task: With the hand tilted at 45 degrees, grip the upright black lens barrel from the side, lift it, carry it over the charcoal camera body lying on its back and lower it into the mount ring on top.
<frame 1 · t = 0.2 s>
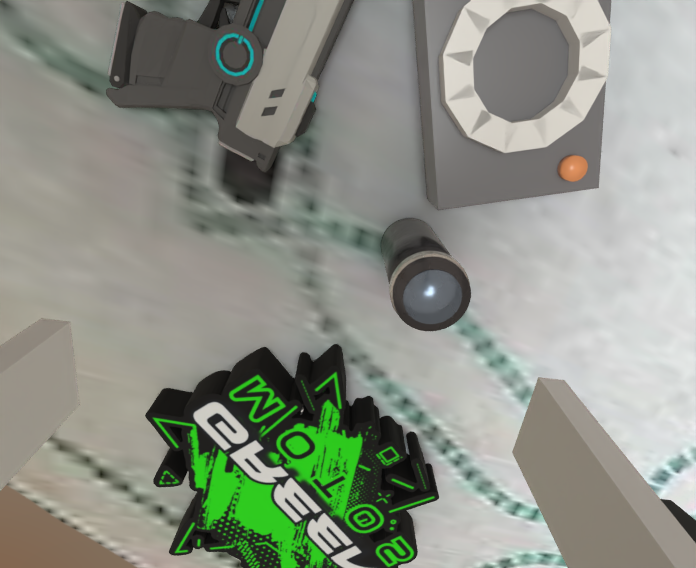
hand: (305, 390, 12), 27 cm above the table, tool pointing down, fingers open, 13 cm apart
camera body: (494, 74, 34), on the table
sign: (287, 470, 50), on the table
handgun: (253, 9, 33), on the table
lens: (408, 245, 39), on the table
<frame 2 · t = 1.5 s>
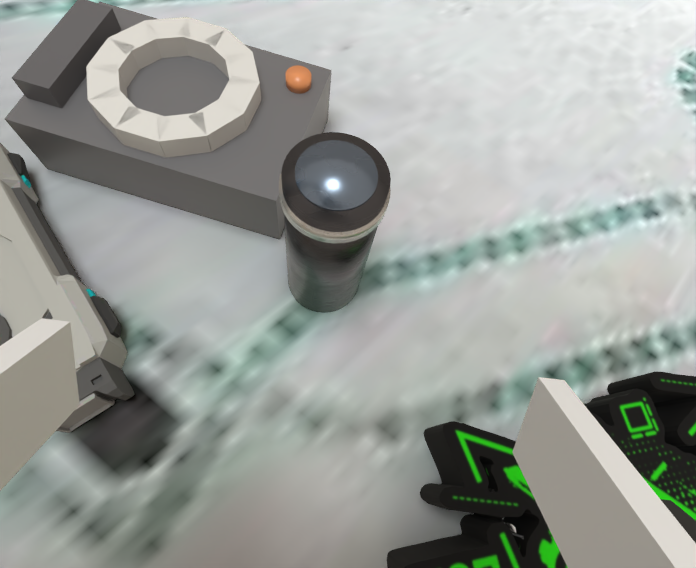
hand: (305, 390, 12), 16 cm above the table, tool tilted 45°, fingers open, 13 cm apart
camera body: (196, 142, 34), on the table
lens: (323, 279, 31), on the table
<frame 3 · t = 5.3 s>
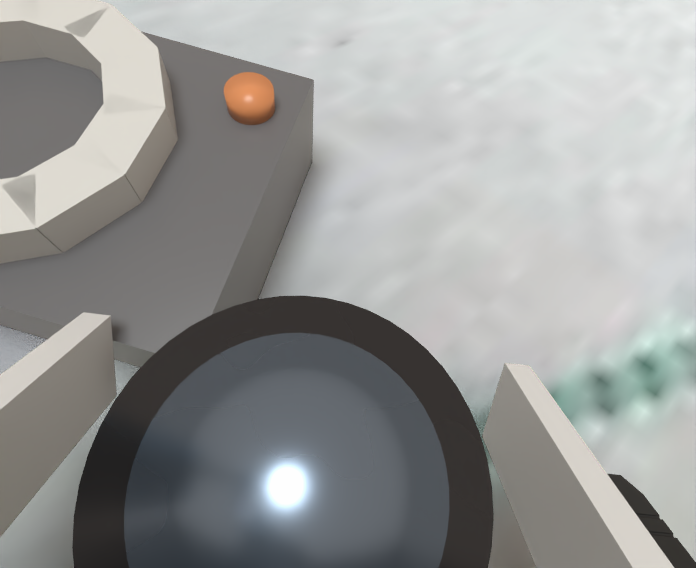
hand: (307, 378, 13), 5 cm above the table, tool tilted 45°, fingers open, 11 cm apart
camera body: (84, 207, 20), on the table
lens: (302, 474, 16), on the table
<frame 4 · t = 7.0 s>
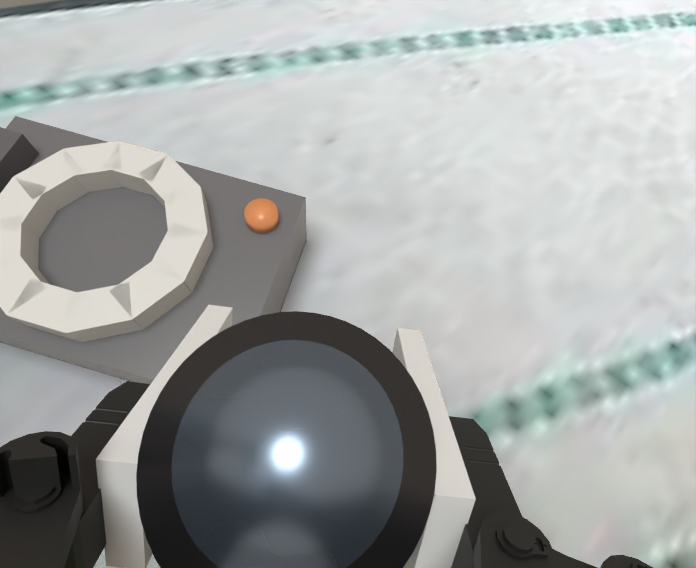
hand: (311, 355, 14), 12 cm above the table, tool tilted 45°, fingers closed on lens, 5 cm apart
camera body: (141, 280, 27), on the table
lens: (307, 460, 18), point 6 cm above the table, touching gripper
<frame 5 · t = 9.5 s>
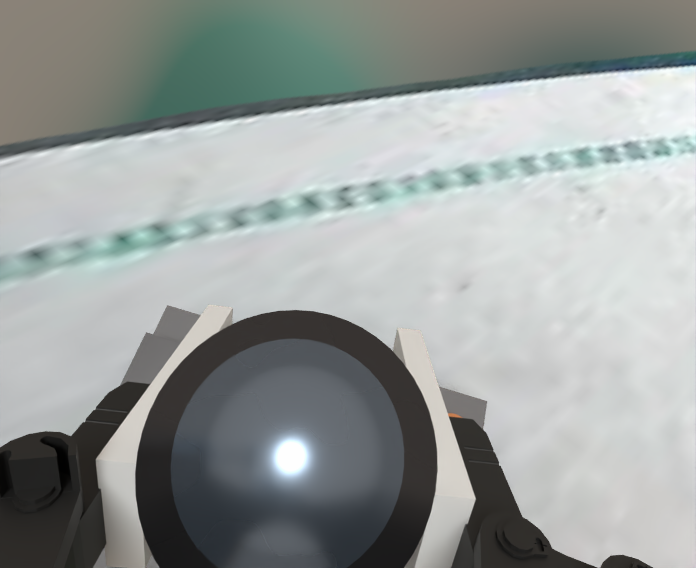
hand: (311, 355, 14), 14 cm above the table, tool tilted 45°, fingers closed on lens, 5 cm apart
camera body: (292, 469, 26), on the table
lens: (307, 460, 18), point 8 cm above the table, touching gripper
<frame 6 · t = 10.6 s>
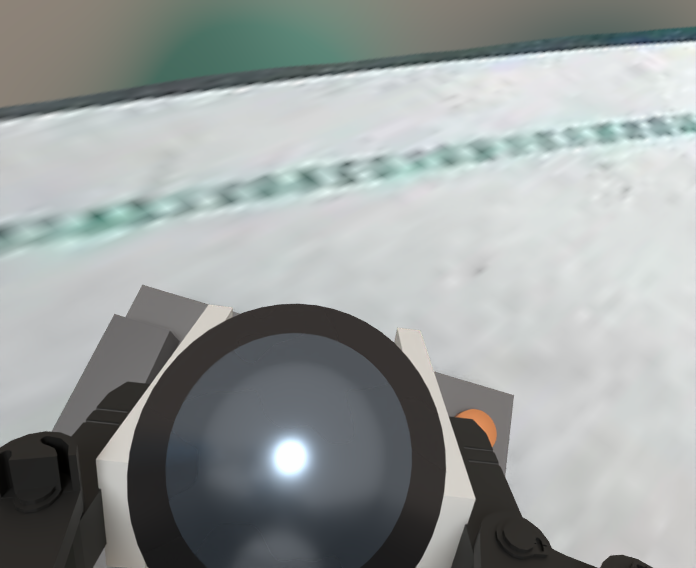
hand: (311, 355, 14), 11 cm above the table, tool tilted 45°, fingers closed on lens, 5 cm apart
camera body: (288, 474, 22), on the table
lens: (299, 463, 18), point 5 cm above the table, touching camera body, gripper
when the fingers open (11 cm above the table, at t = 10.8 s): lens stays where it is, resting on camera body.
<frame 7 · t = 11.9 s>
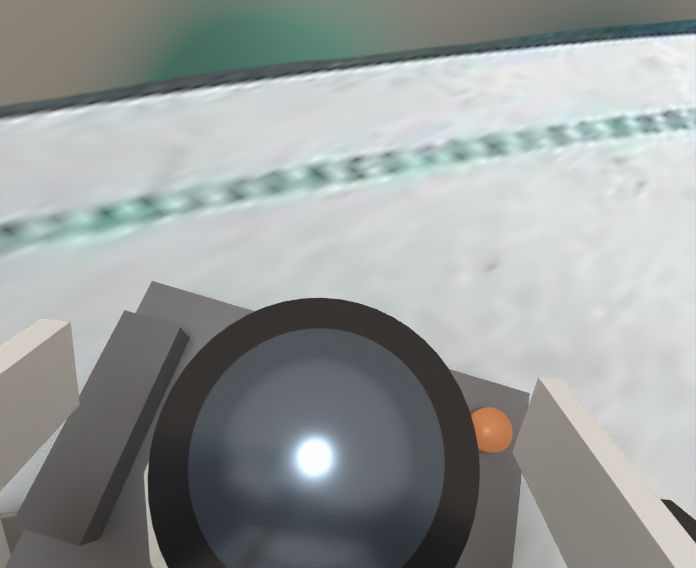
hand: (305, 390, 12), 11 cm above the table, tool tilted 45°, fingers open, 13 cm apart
camera body: (298, 473, 22), on the table
lens: (311, 462, 18), point 5 cm above the table, touching camera body
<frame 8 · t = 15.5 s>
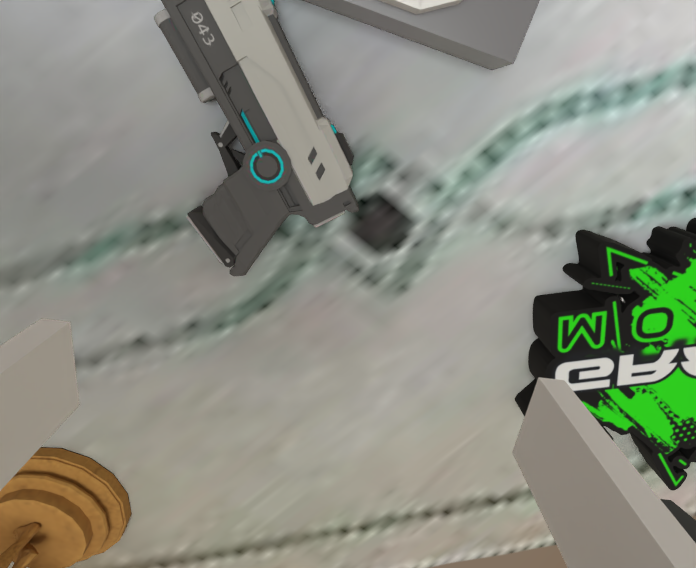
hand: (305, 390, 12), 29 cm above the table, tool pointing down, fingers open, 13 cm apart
statue: (62, 499, 53), on the table
sign: (671, 347, 45), on the table
handgun: (244, 129, 37), on the table
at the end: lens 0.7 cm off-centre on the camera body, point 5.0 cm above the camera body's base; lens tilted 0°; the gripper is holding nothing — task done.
